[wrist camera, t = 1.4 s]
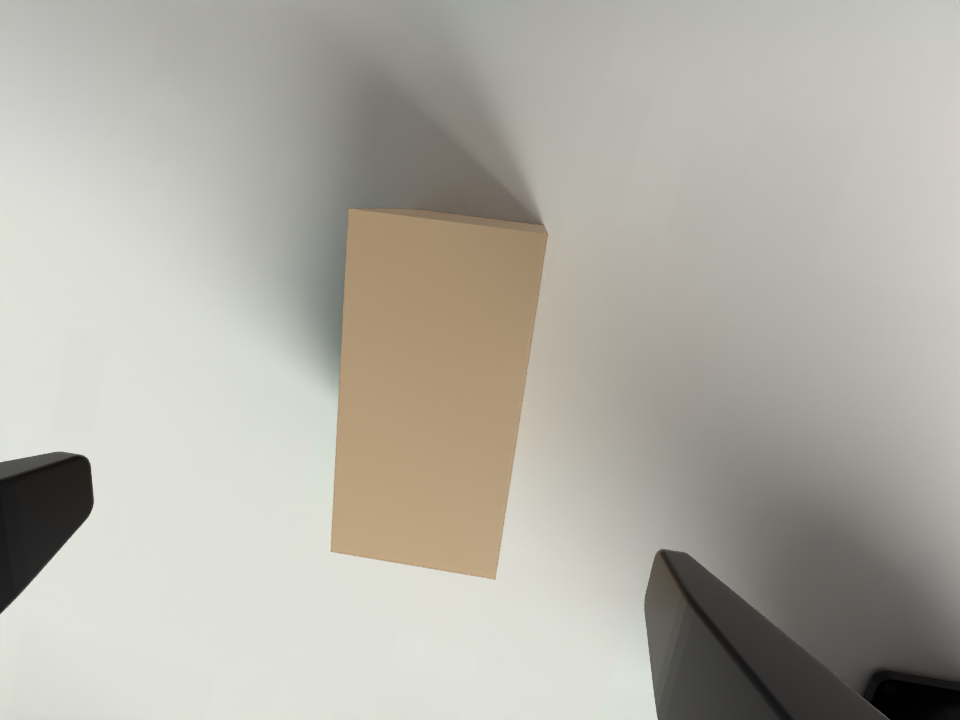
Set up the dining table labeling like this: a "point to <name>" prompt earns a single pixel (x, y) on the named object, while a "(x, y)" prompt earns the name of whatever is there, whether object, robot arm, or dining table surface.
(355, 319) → the carton
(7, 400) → the dining table surface
